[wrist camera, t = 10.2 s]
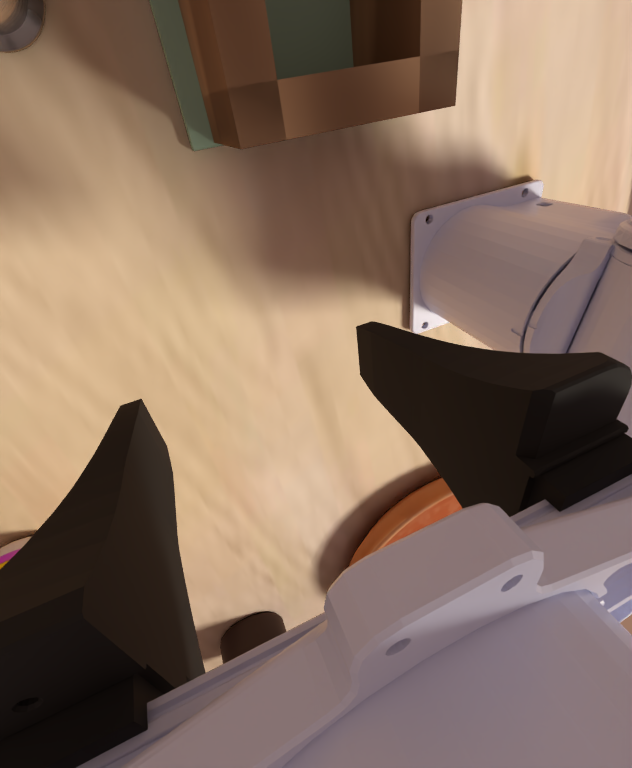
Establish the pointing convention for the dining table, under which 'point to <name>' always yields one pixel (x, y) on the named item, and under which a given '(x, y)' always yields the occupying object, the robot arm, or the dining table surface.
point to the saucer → (409, 517)
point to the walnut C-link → (327, 89)
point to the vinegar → (250, 634)
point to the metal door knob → (20, 23)
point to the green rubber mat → (289, 44)
